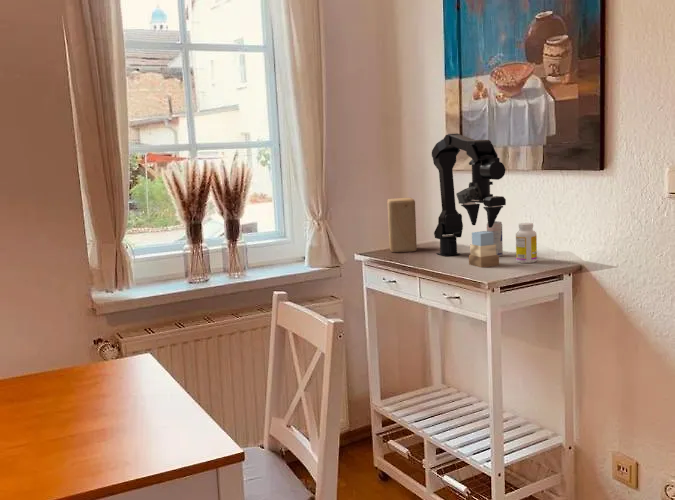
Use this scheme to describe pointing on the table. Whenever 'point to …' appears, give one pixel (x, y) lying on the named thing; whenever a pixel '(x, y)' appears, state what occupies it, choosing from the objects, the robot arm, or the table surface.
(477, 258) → the base block
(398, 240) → the wooden block
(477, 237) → the top block
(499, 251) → the energy drink
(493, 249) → the mid block
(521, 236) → the supplement bottle
